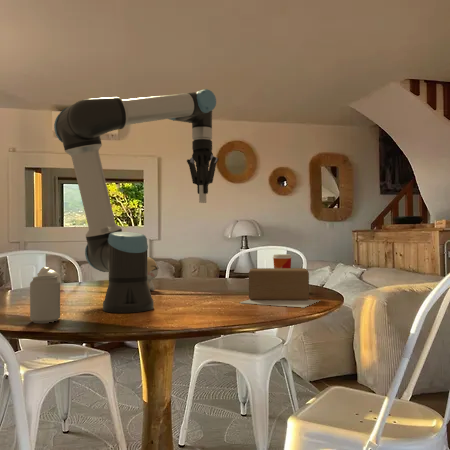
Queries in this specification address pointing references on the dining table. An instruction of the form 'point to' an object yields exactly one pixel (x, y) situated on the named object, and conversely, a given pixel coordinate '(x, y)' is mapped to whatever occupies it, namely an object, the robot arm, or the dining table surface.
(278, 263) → the paper cup
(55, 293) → the can
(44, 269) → the ghost figurine
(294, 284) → the block
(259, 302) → the felt mat
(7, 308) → the dining table surface
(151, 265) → the kitten
